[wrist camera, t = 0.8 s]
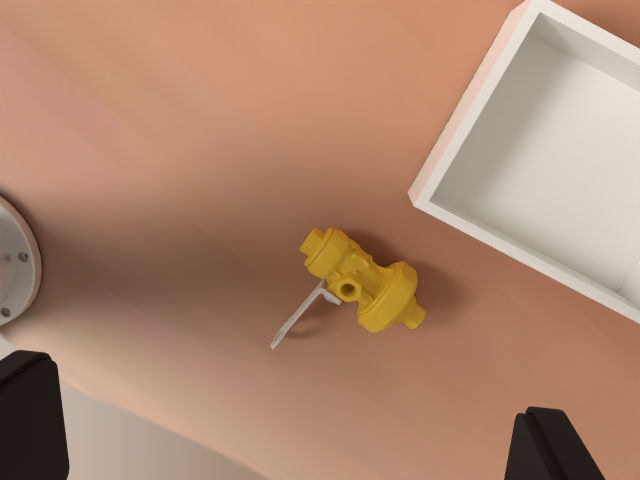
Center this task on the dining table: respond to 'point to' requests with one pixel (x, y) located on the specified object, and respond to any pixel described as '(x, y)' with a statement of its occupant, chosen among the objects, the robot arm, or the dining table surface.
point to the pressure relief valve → (358, 283)
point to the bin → (548, 154)
